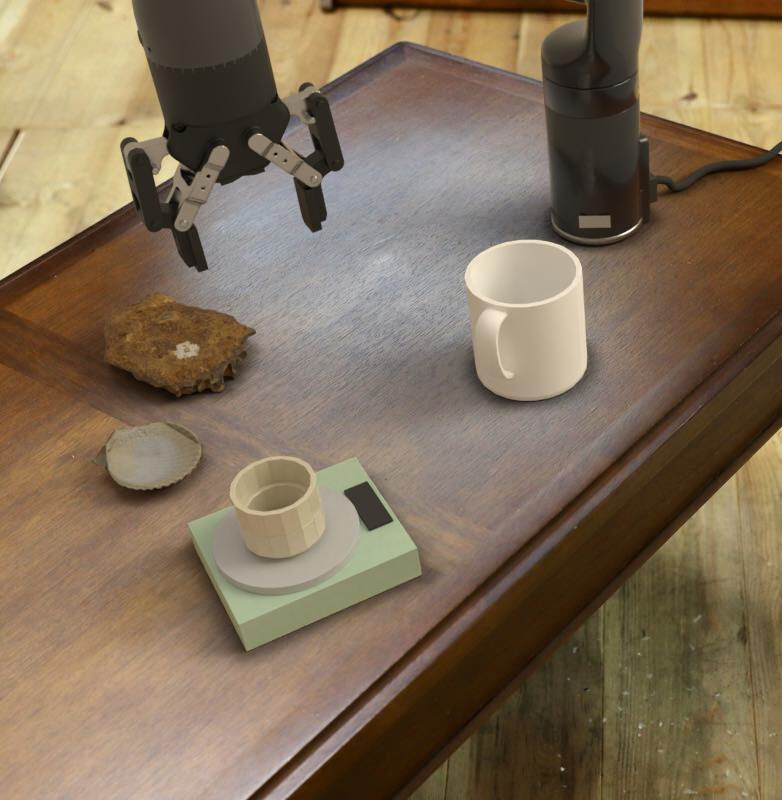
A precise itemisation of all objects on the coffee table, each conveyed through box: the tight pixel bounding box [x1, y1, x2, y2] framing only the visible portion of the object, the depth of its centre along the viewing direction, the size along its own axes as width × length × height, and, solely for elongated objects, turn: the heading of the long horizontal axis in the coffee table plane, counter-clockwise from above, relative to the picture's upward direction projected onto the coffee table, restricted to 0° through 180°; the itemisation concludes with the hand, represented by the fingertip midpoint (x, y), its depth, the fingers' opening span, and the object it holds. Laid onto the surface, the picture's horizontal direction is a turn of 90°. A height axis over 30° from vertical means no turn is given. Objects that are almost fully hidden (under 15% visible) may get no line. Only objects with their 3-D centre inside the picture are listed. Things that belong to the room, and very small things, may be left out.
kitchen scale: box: [186, 456, 423, 652], centre depth 105 cm, size 14×12×4 cm
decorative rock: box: [103, 292, 257, 398], centre depth 126 cm, size 11×4×15 cm
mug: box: [464, 239, 588, 402], centre depth 120 cm, size 13×10×10 cm
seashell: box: [92, 421, 203, 492], centre depth 114 cm, size 8×3×8 cm
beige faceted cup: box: [228, 455, 326, 559], centre depth 102 cm, size 6×6×5 cm
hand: (257, 245), depth 98 cm, fingers open, 8 cm apart
